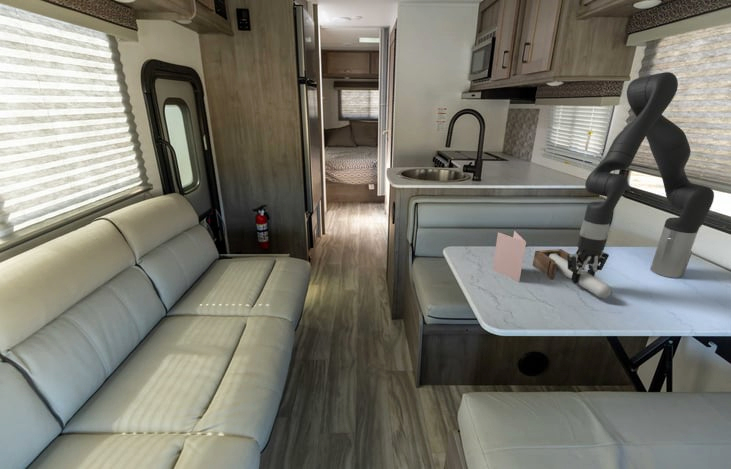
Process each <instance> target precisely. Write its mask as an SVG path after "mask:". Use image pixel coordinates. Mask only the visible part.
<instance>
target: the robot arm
mask: <svg viewBox="0 0 731 469" xmlns="http://www.w3.org/2000/svg"><path fill="white" fill-rule="evenodd" d="M678 86H679V82H678V78H677V75H676V74H675V73H673V72H670V71H666V72H664V71H663V72H659V73H655V74H654V73H653V74H649V75H645V76H641V77H638V78H634V79H633V80H632V81H630V83H629V84H628V86H627V89H626V98H627V103H628V105H629V107H630V108H631V110H632V113H633V114H634V115H635V118H634V119H633V120H632V121H631V122H630V123H628V125H627V126H625V127H624V128H623V129H622V130H620V132H619V133H618V134H617V136H615V138H614V139H613V141H612V143H611V145H610V147H609V149H608V150H607V153H606V155H605V156H604V158H603V159H602V160H601V162H600V163H598V165H596V167H595V168H594V169H593V170H592V171H591V173H589V175H588V176H587V178H586V180H585V190H586V191H587V192H588V193H590V194H593V195H598V196H601V197H602V196H603V197H606V199H605V200H604V201H591V202H589V203H587V205H586V210H585V213H584V218H583V221H582V224H581V227H580V230H579V236H578V239H577V243H576V245H577V250H576V252H575V253H574V254H571V253H569V254H568V256H567V259H568V269H569V270H570V271H572V272H573V274H572V278H571V279H570V280H571V282H573V283H574V284H578V282H579V278H580V272H581V271H582V269H583V268H584V269H585V267H586V266H587V265H588V268H587V269H588V270H586V272H587V273H589V274H591V275H592V276H594V277H596V273H597V272H598V271H602V269H603V268H604V267H605V264H606V262H607V260H608V259H609V257H610V255H609V253H606V252H605V251H604V250H605V247H606V243H607V239H608V236H609V231H610V225H611V224H610V223H611V219H612V216H613V214H614V210H615V208H616V206H617V205H618V202H619V201H620V199H621V197H623V195H624V194H625V192H626V190H627V188H628V185H629V184H628V183H629V182H628V178H627V177H626V176H625V175H623V174H619V173H614V172H613V171H621V170H627V169H628V168H630V166H631V165H632V163H633V160H634V159H635V156H636V155H637V153H638V151H639V149H640V147H641V145H642V143H643V141H644V140H645V139H646V140H647V143H648V145H649V148H650V151H651V154H652V155H653V159H654V161H655V163H656V166H657V168H658V171H659V173H660V176H661V179H662V184H663V188H664V191H665V196H666V199H667V202H668V204H670V206H673V207H674V208H676V209H679V210H682V212H681V214H680V216H678V217H676V216H675V217H669V218H666V220H665V222H664V225H663V228H662V230H661V233H660V234H661V235H660V237H659V240H658V244H657V246H656V249H655V253H654V255H653V258H652V262H651V265H650V268H649V269H650V271H651V272H653V273H655V274H656V275H659V276H663V277H665V278H666V277H667V278H673V279H677V278H682V277H683V276H684V275H685V272H686V270H687V267H688V264H689V262H690V259H691V256H692V254H693V251H692V249H693V246H694V243H695V240H696V238H697V236H698V233H699V230H700V228H701V227H702V226H703V224H704V223H705V221H706V218H707V216H708V214H709V212H710V209H711V208H712V206H713V203H714V199H715V193H714V190H713V189H712V188H711V187H709V186H705V185H701V184H697V183H693V182H691V181H690V180H689V179H688V176H687V174H686V171H685V168H686V165H687V163H688V161H689V159H690V157H691V151H692V150H691V146H690V143H689V141H688V138H687V135H686V133H685V131H684V130H683V129H682V128H680V126H678V125H677V124H676V123H674V122H673V121H671V120H669V118H667V117H666V116H664V115H663V114H664V112H665V111H666V109H667V108H668V107H669V105H670V104H671V102H672V101H673V100H674V98H675V96H676V93H677V91H678ZM612 172H613V173H612ZM579 262H580V263H582V265H581V264H580V263H579ZM578 266H579V268H578ZM577 268H578V269H577Z"/></svg>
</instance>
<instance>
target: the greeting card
mask: <svg viewBox="0 0 731 469" xmlns="http://www.w3.org/2000/svg"><path fill="white" fill-rule="evenodd" d="M527 246H528V244H527V242H526V240H525V239H524V238H523V237H522V236H521V235H519V233H517V231H515V230H514V231H513V235H512V236H510V235H507V234H505V233H501V232H497V236H496V243H495V250H494V255H493V256H494V258H493V262H492V263H493V264H492V271H494V272H496V273H499V274H501V275H503V276H505V277H507V278H509V279H511V280H514V281H516V282H519V283H520V279H521V273H522V269H523V263H524V256H525V251H526V248H527Z"/></svg>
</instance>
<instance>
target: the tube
mask: <svg viewBox="0 0 731 469" xmlns="http://www.w3.org/2000/svg"><path fill="white" fill-rule="evenodd" d="M549 257H550V258H551V259H553V260H555V262H556V264H557V266H556V270H555V271H557V272H559V273H561V274H562V275H563V276H566V278H568V279H570V280H571V278H572V274H573V272H572V271H570V270H569V269H568V261H567V260H565V259H563V258H561V257H560V256H558V255H557V254H551V255H550V256H549ZM578 268H579V267H578ZM578 268H577V269H578ZM577 284H578V285H579V286H581V287H582V288H584V289H586V290H587V291H589V292H591V293H592V294H593V295H595V296H597V297H598V298H600V299H605V298H607V297H609V296H611V295H612V288H611V286H610V285H609V284H608V283H606V282H604V281H603V280H601V279H599V278H598V277H596V276H592V275H591V274H589V273H587V270H585V269H584V270H582V271H581V272H580V278H579V282H578V283H577Z"/></svg>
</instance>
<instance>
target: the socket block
mask: <svg viewBox="0 0 731 469" xmlns="http://www.w3.org/2000/svg"><path fill="white" fill-rule="evenodd" d="M551 254H557V255H558V256H560V257H561V258H563V259H565V260H567V261H568V259H567V256H568V254H570V253H569V252H567V251H566V250H564V249H561V248H557V249H556V248H555V249H545V250H544V249H543V250H535V251H534V256H533V260H532V266H533V267H534V268H535V269H537V270H539V271H540V272H542V273H543V274H545V275H546V276H547V277H548V280H551V281H552V280H554V279H555V278H554V277H555V274H556V271H557V270H556V266H557V264H556V262H555V260H553V259H551V258H550V257H549V256H550V255H551ZM579 263H580V262H579ZM580 264H581V265H582V263H580ZM578 267H579V266H578ZM582 270H584V271H585V268H583V269H582Z"/></svg>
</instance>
